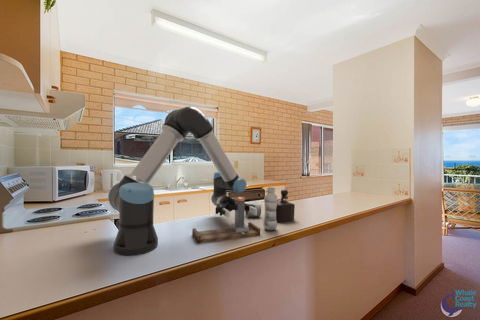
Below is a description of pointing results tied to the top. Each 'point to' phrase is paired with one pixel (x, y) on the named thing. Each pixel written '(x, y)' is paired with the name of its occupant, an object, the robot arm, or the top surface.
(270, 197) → the plastic bottle
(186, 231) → the top surface
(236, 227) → the grey upright piece
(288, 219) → the black block with knob
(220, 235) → the fader track
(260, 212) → the ceramic mug
